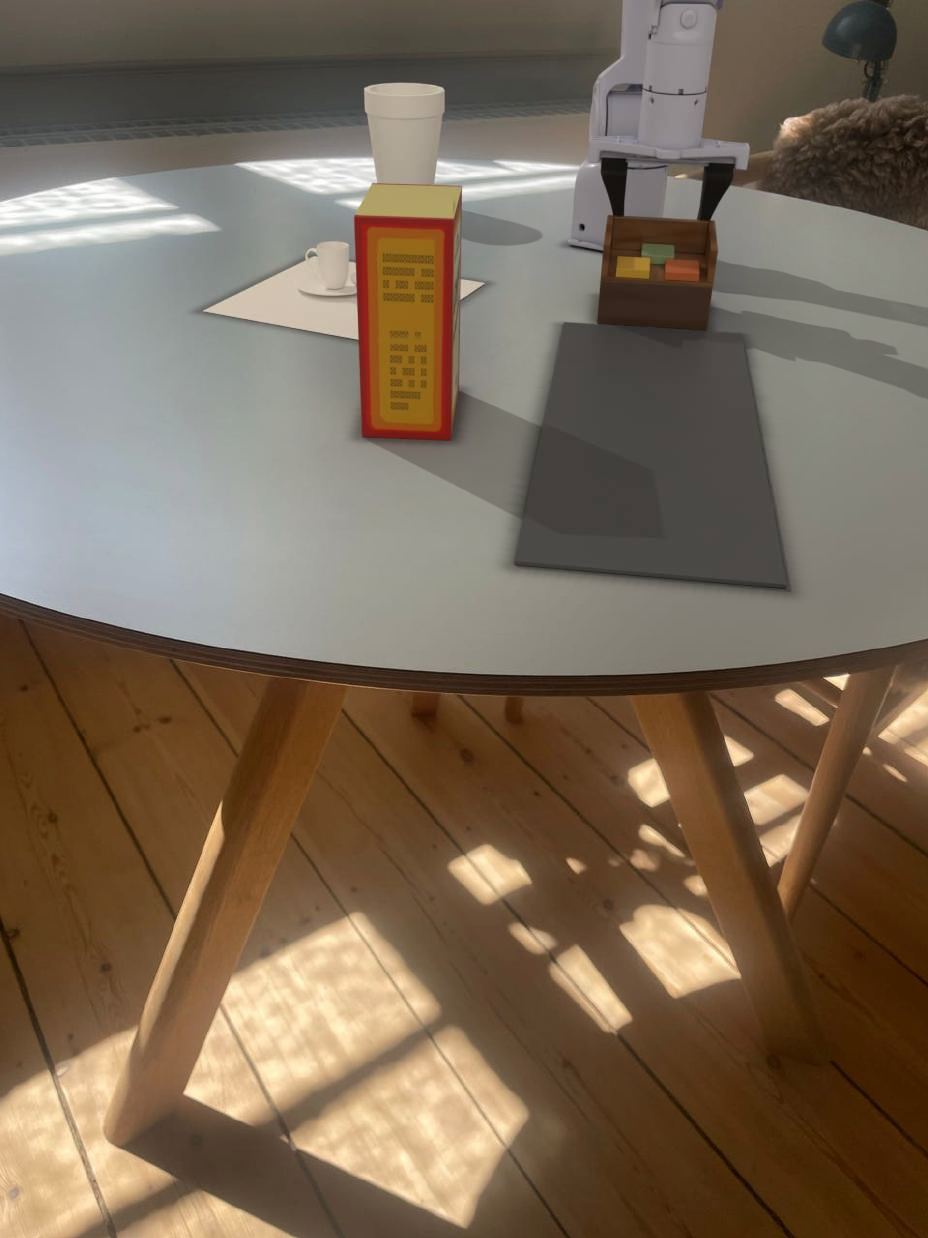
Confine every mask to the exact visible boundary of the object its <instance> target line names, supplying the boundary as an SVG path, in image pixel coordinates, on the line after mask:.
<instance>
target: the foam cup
mask: <svg viewBox="0 0 928 1238" xmlns="http://www.w3.org/2000/svg"><path fill="white" fill-rule="evenodd" d="M445 91H446V90H445V89H444V87H442V86H438V85H435V84H428V83H427V84H426V83H419V82H387V83H378V84H372V85H368V86H365V87H364V88H363V95H364V112H365V114H366V115H367V116H366V117H367V122H368V124H367V125H368V129H369V136H370V137H369V138H370V144H371V150H372V157H373V163H374V171H375V177H376V178H375V179H376V183H386V184H418V185H435V180H436V173H437V166H438V165H437V164H438V156H439V148H440V140H441V139H440V138H441V131H442V123H443V115H444V113H445V110H446V109H445V105H446V102H445V101H446V100H445V99H446V98H445V95H446V94H445Z"/></svg>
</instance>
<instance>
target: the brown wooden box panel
mask: <svg viewBox="0 0 928 1238" xmlns="http://www.w3.org/2000/svg"><path fill="white" fill-rule="evenodd" d="M713 290H714V286H713V287H710V286H693V285H676V284H659V283H642V282H625V281H608V280H601V279H600V282H599V294H598V307H597V318H596V324H602V325H618V326H633V327H649V328H665V329H681V330H697V331H708V324H709V319H710V317H709V316H710V309H711V303H712V297H713V296H712V295H713Z"/></svg>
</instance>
